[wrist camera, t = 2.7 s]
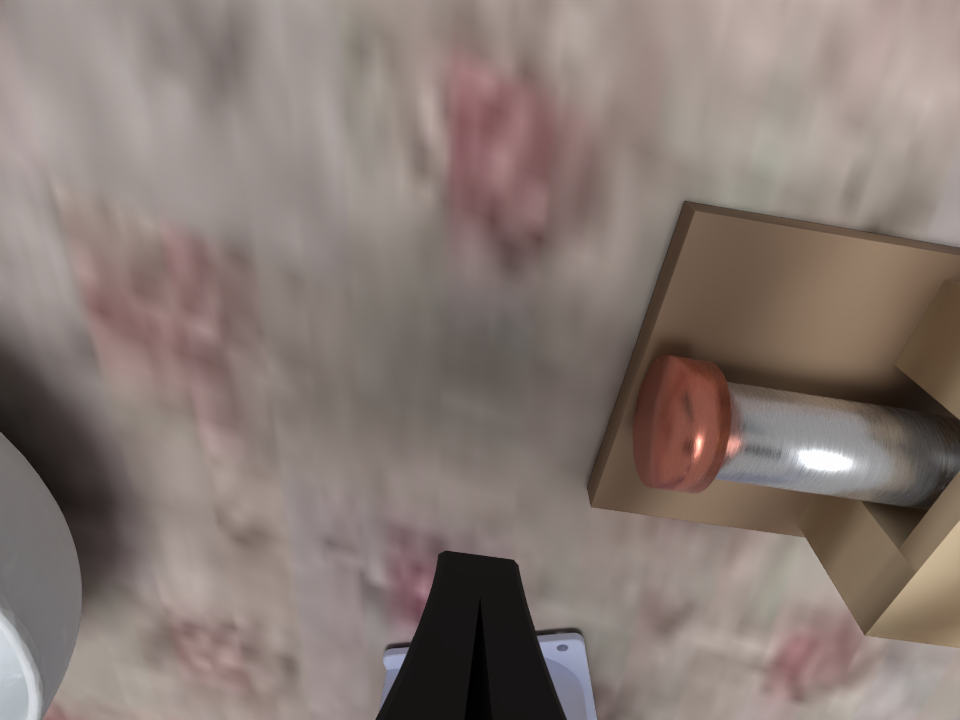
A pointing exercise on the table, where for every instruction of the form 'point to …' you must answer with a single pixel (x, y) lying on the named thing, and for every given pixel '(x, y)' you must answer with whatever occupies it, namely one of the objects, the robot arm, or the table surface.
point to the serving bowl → (33, 590)
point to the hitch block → (812, 392)
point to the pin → (785, 439)
